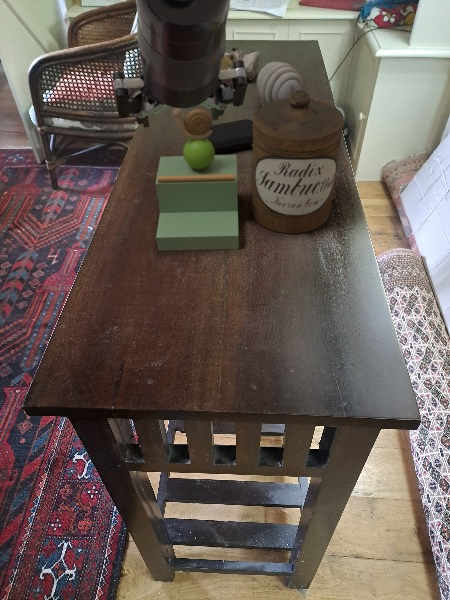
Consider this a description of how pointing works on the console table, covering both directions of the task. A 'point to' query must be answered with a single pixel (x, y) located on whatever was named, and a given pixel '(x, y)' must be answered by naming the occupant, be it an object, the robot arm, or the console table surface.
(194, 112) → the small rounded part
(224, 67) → the ceramic sculpture
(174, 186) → the green step block
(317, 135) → the wooden container
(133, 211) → the console table surface
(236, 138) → the carrying case
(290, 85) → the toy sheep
